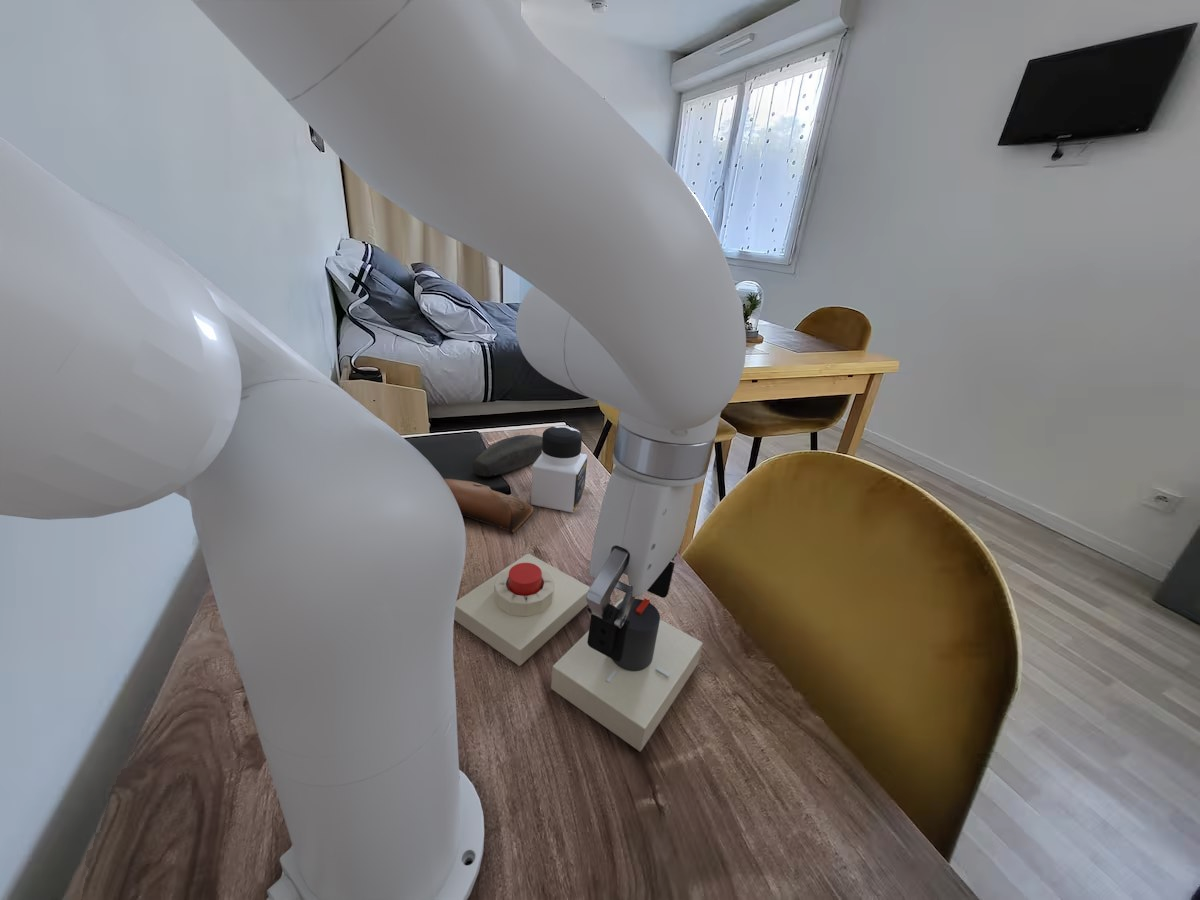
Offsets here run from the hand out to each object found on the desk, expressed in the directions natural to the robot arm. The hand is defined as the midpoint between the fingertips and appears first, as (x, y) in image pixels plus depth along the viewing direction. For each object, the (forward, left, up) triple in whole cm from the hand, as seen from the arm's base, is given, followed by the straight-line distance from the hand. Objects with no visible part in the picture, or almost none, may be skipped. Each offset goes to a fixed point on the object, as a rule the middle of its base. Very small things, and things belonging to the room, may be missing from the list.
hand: (630, 618), depth 44 cm
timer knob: (+1, 0, -5) cm, 5 cm away
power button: (+1, +14, -4) cm, 15 cm away
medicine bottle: (+23, +27, -8) cm, 36 cm away
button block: (+1, +14, -8) cm, 16 cm away
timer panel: (+1, 0, -8) cm, 8 cm away
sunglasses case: (+12, +35, -8) cm, 38 cm away
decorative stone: (+27, +41, -8) cm, 50 cm away
